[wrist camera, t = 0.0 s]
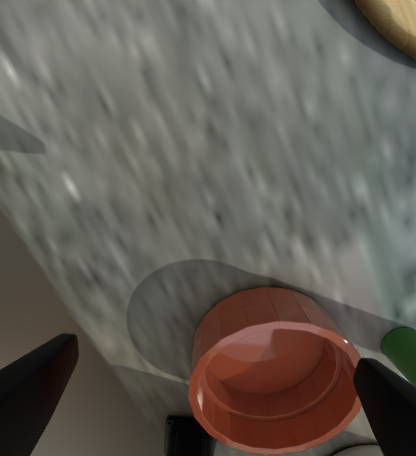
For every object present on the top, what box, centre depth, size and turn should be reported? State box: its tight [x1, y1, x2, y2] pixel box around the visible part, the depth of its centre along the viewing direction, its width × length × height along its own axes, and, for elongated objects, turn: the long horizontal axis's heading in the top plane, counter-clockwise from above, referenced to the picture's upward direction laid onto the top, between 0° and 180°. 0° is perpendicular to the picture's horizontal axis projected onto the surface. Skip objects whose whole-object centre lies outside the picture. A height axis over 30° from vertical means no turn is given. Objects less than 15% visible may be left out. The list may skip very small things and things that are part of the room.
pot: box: [188, 287, 362, 455], centre depth 23 cm, size 16×16×6 cm
